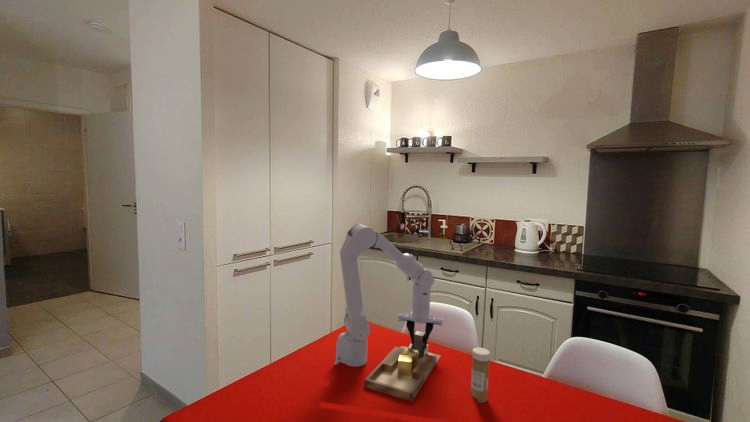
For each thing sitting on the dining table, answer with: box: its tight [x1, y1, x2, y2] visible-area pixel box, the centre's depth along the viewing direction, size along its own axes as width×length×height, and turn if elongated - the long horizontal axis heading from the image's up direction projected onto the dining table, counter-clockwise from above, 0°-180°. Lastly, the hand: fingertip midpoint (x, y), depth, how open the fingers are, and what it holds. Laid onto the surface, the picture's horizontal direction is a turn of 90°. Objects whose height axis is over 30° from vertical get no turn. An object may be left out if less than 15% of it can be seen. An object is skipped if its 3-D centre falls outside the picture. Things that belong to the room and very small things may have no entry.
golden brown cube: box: [398, 354, 413, 375], centre depth 107 cm, size 4×4×4 cm
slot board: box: [364, 345, 442, 402], centre depth 108 cm, size 14×28×3 cm, turn 155°
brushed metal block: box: [407, 330, 429, 358], centre depth 118 cm, size 6×5×6 cm
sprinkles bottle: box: [470, 347, 491, 404], centre depth 96 cm, size 5×5×14 cm
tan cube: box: [402, 348, 419, 369], centre depth 111 cm, size 4×4×4 cm
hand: (419, 343), depth 119 cm, fingers closed on brushed metal block, 4 cm apart
